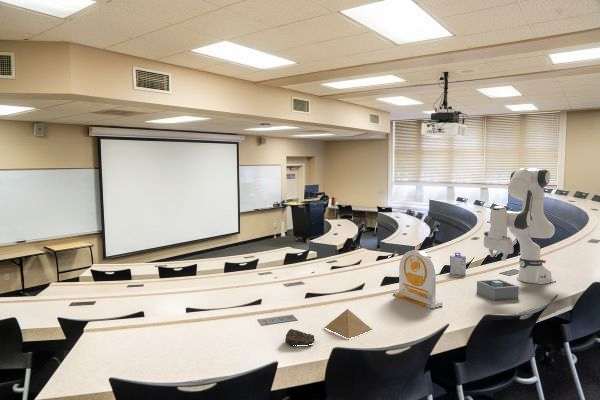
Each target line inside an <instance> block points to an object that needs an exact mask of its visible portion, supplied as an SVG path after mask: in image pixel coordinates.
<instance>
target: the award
mask: <svg viewBox="0 0 600 400" xmlns="http://www.w3.org/2000/svg"><path fill="white" fill-rule="evenodd" d="M398 269H399V271H398V272H399V273H398V276H399V279H398V282H399V283H398V290H393V294H395V295H397V296H399V297H398V298H400V297H401V298H400V299H403V298H404V299H403V300H405V299H407V300H406V301H408V300H410V301H409V302H411V301H412V303H414V302H415V303H414V304H416V303H417V305H419V304H420V306H422V305H423V306H422V307H424V306H426V307H425V308H427V307H428V308H427V309H430V308H434V309H436V308H435V307H438V308H440V307H439V306H442V307H443V303H444V302H442V301H440V300H438V299H436V286H437V285H436V283H437V281H436V278H437V277H436V274H437V273H436V269H435V266H434V263H433V262H432V260H431V258H430V257H429V256H428V255H427V254H426V253H425V252H424V251H421V250H418V249H412V250H409V251H407V252H405V253H404V254H403V255H402V257H401V258H400V261H399V267H398ZM395 295H394V296H395ZM397 296H396V297H397Z"/></svg>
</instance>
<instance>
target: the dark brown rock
mask: <svg viewBox="0 0 600 400" xmlns="http://www.w3.org/2000/svg"><path fill="white" fill-rule="evenodd" d="M315 340H316V339H315V335H314V334H311V333H306V332H303V331H300V330H297V329H293V328H290V329H288V331H287V333H286V334H285V340H284V341H285V343H286V344H287V345H289V346H291V345H294V346H295V345H296V346H297V345H308V346H310V345H309V344H312V343H314V342H315Z"/></svg>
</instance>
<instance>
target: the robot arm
mask: <svg viewBox="0 0 600 400" xmlns="http://www.w3.org/2000/svg"><path fill="white" fill-rule="evenodd" d="M509 178H510V179H509V182H508V185H507V192H508V194H509V195H510V196H511V197H513V198H514V199H516V200H519V201H521V202H522V206H521V210H520V211H516V210H513V211H512V210H508V209H507V207H506V206H504V205H494V206H493V207H491V209H490V214H489V215H490V216H489V224H490V226H489V230H488V231H484V232H483V236H484V237H483V247H484V248H486V249H488V252H489V256H490V257H491V258H494V257H495V253H494V251H495V252H499V253H502V256H501V261H503V262H504V261H507V257H508V256H509V255H511V254H513V253H514V243H513V240H512V239H511V237H509V236H508V229H509V232H510V233H511V235H512V236H514V237H515V238H516V239H517V242H518V243H519V249H520V251H519V252H520V254H519V255H520V257H519V263H518V264H519V267H518V268H519V270H518V273H517V277H516V280H517V281H520V282H524V283H529V284H537V285H538V284H539V285H544V284H551V283H555V281H556V280H557V279H555V278H553V275H552V272H551V270H549V269H548V268H547V267H545V266H544V265H543V264H546V263H547V260H546V259H541V251H542V250H541V249H542V248H541V246H540V245H539V244H537V243H536V242H534V241H533V240H532V238H536V239H551V238H552V237H553V236H554V235H555V233H556V227H555V225H554V224H553V223H552V222H551V221H550V220H548V218H547V217H546V215H545V213H544V200H545V191H544V189H545V187H546V186H547V185H549V183H550V179H551V174H550V172H549V170H547V169H545V168H523V167H521V168H518V169H516V170H513V172H511V173H510V177H509ZM550 282H551V283H550ZM556 282H557V281H556Z"/></svg>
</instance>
